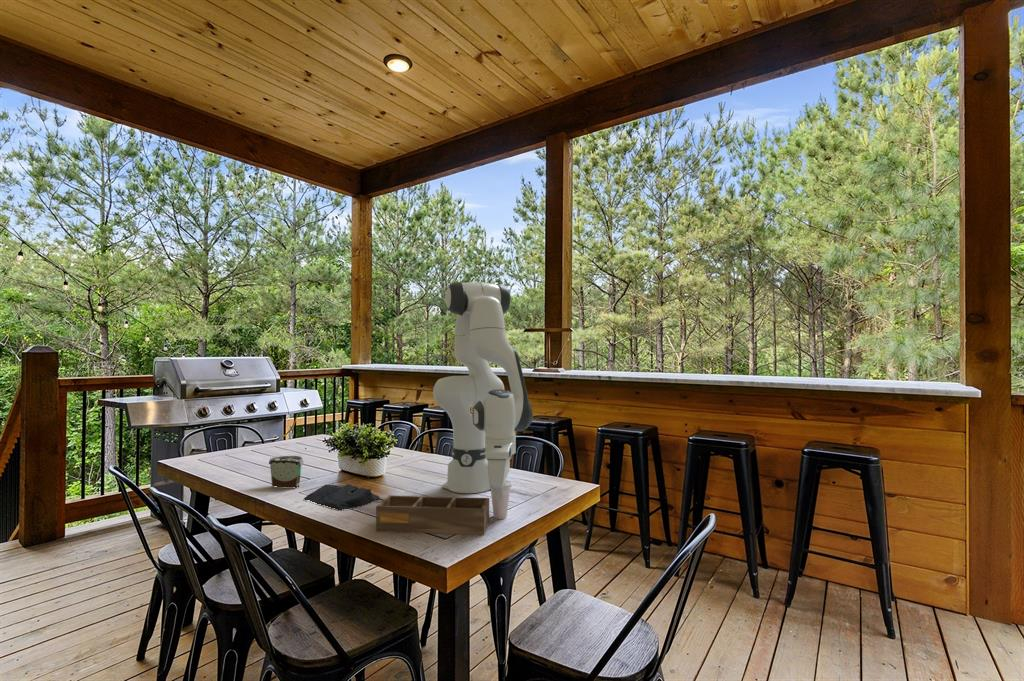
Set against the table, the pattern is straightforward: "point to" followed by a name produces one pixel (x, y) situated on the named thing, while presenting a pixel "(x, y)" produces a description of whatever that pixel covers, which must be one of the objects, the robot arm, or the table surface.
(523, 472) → the table surface
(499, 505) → the smoothie
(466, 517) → the caddy
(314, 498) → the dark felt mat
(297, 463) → the food container
